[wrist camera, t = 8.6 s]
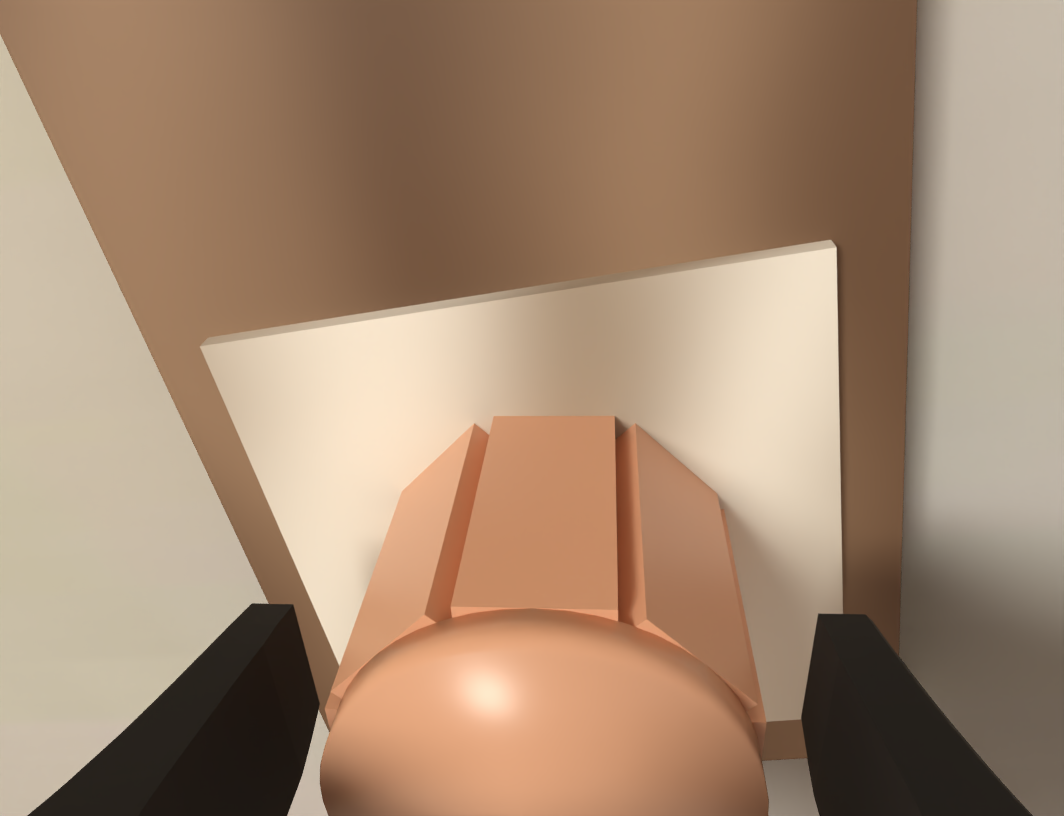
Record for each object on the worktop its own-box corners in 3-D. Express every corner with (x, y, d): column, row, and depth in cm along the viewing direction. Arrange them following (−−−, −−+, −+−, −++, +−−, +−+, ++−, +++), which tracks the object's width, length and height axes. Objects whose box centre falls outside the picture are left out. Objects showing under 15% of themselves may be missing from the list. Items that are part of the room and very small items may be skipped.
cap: (731, 415, 12) (793, 657, 8) (710, 667, 15) (748, 942, 11) (382, 415, 13) (280, 644, 9) (421, 660, 15) (356, 920, 11)
